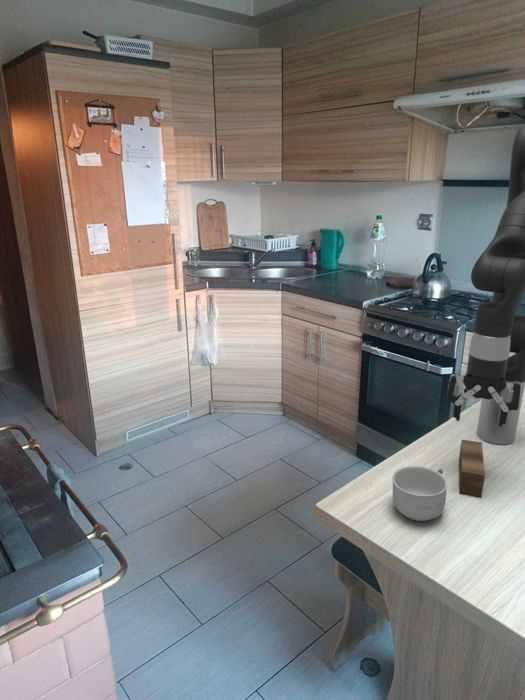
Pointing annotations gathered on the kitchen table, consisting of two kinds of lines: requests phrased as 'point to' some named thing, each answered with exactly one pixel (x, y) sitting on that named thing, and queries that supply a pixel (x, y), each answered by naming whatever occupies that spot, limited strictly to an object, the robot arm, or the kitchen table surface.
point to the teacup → (419, 492)
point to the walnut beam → (471, 469)
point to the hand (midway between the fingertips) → (478, 422)
